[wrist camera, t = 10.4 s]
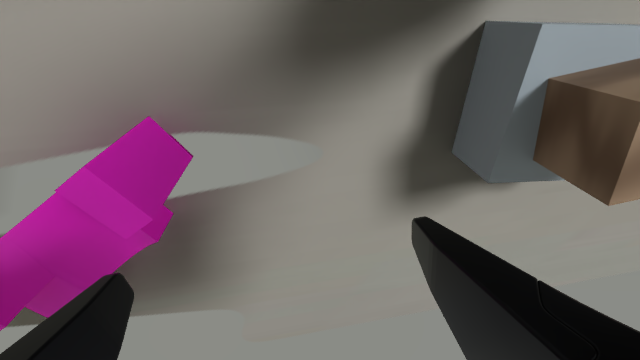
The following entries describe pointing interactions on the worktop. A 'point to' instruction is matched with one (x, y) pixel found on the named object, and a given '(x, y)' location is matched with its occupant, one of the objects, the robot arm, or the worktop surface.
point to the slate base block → (527, 89)
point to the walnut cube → (594, 131)
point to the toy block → (91, 223)
